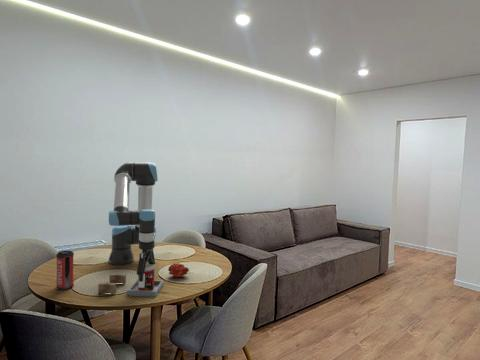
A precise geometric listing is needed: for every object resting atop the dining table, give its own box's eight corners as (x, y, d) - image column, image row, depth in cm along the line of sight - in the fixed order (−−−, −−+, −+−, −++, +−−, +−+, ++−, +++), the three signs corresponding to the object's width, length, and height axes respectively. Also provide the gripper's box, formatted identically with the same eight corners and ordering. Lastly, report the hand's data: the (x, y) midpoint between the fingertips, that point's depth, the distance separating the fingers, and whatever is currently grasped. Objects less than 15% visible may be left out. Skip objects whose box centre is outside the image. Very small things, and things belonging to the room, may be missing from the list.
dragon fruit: (166, 278, 176) (187, 281, 176) (165, 274, 169) (187, 278, 169) (170, 264, 180) (190, 267, 181) (169, 259, 173) (190, 262, 174)
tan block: (98, 294, 149) (98, 284, 149) (111, 282, 163) (111, 273, 163) (114, 294, 149) (114, 284, 149) (126, 283, 163) (126, 274, 163)
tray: (126, 295, 149) (126, 290, 149) (137, 284, 163) (137, 279, 163) (155, 296, 148) (155, 291, 148) (163, 285, 162) (163, 280, 162)
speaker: (77, 285, 159) (77, 250, 158) (65, 291, 151) (65, 255, 150) (64, 283, 160) (64, 249, 159) (52, 289, 153) (52, 253, 152)
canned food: (136, 292, 151) (136, 270, 151) (140, 285, 159) (140, 264, 159) (152, 292, 152) (152, 270, 151) (155, 285, 160) (155, 264, 159)
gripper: (146, 247, 142) (145, 292, 143) (161, 234, 167) (160, 273, 168) (129, 246, 142) (129, 291, 143) (147, 234, 167) (146, 272, 168)
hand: (146, 281), depth 155 cm, fingers open, 13 cm apart
